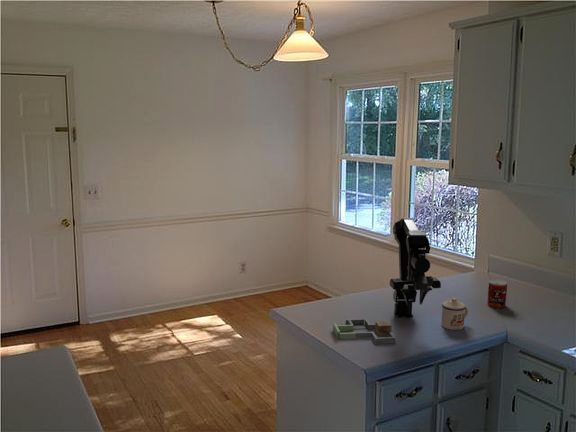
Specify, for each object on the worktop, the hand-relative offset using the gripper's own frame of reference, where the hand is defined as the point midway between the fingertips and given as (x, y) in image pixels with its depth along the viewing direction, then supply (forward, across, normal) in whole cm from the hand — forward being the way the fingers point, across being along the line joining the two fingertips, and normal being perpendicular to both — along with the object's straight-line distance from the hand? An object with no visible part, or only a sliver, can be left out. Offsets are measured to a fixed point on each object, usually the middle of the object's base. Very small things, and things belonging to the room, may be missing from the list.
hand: (414, 304), depth 211 cm
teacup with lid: (+11, +19, +4) cm, 22 cm away
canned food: (+11, +47, +25) cm, 54 cm away
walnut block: (+11, -12, 0) cm, 16 cm away
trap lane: (+11, -21, 0) cm, 23 cm away
